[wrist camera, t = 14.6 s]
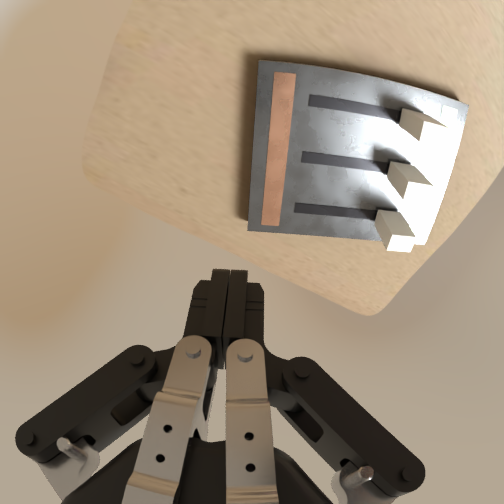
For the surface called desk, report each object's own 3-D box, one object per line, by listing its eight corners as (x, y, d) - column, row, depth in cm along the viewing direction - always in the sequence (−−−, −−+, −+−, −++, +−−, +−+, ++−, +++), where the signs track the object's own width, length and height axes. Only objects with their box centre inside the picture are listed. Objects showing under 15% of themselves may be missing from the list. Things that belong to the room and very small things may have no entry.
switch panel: (259, 59, 27) (258, 60, 25) (459, 101, 27) (469, 105, 25) (248, 221, 38) (247, 231, 37) (419, 236, 39) (424, 245, 37)
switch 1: (378, 209, 34) (392, 234, 30) (400, 212, 34) (416, 237, 30) (373, 224, 35) (386, 250, 31) (396, 226, 35) (410, 252, 31)
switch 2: (402, 108, 27) (424, 121, 23) (427, 114, 27) (450, 128, 23) (398, 126, 28) (419, 141, 24) (423, 131, 28) (445, 148, 24)
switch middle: (390, 161, 30) (408, 181, 26) (414, 165, 30) (434, 186, 26) (386, 177, 31) (403, 200, 28) (409, 181, 32) (428, 203, 28)
